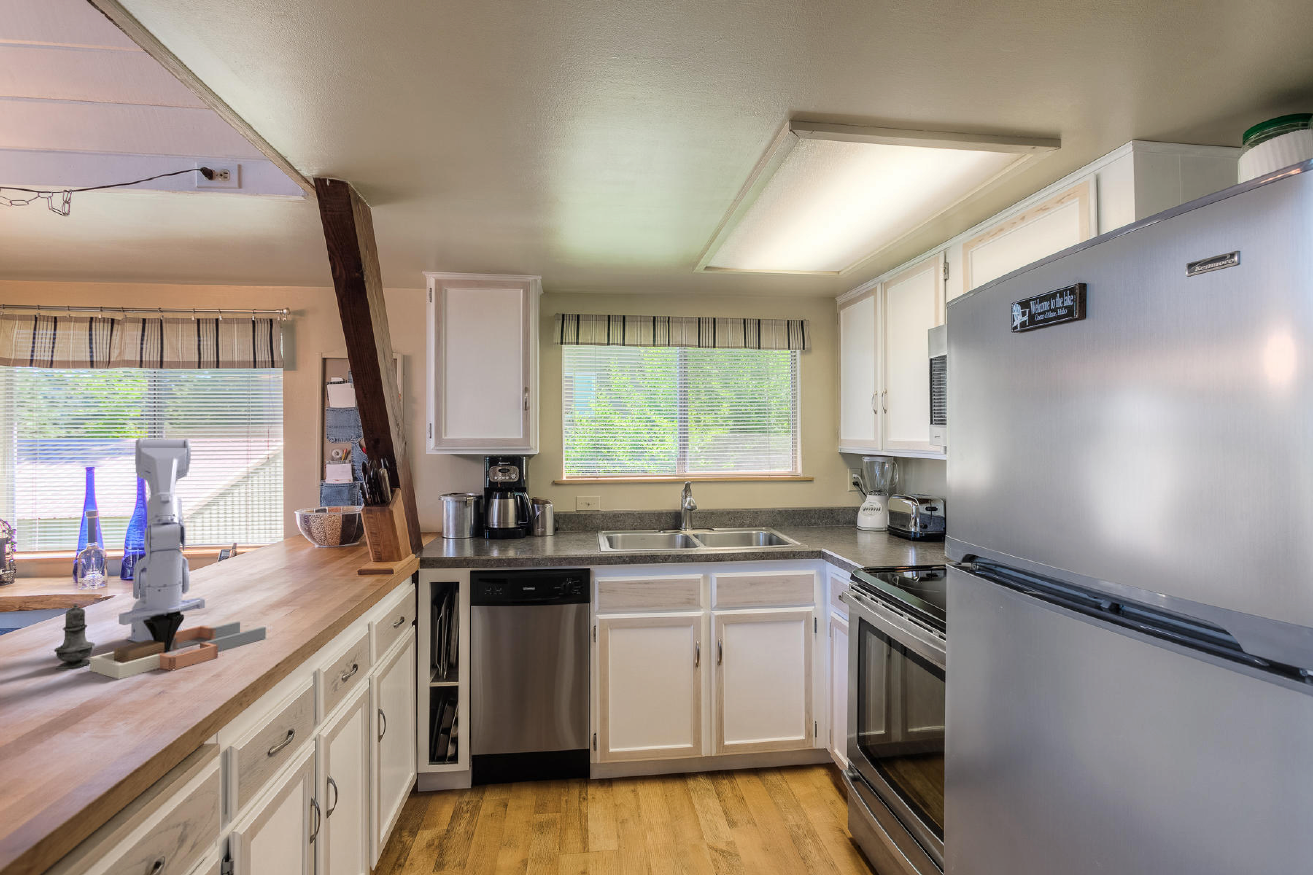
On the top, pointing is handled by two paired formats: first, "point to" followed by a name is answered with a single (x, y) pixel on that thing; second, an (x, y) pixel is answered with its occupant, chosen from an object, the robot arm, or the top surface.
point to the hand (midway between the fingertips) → (163, 651)
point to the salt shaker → (74, 641)
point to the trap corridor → (203, 635)
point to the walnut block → (138, 650)
